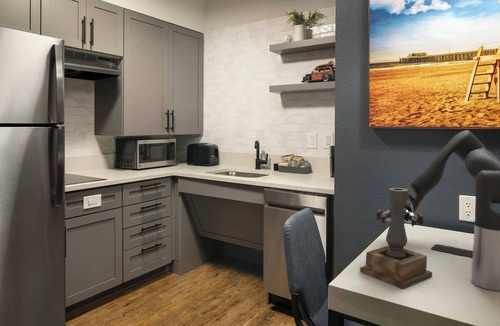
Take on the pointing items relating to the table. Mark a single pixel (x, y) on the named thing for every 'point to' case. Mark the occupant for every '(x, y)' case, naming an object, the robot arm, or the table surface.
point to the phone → (453, 250)
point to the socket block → (396, 267)
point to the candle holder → (397, 223)
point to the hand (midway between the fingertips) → (398, 221)
